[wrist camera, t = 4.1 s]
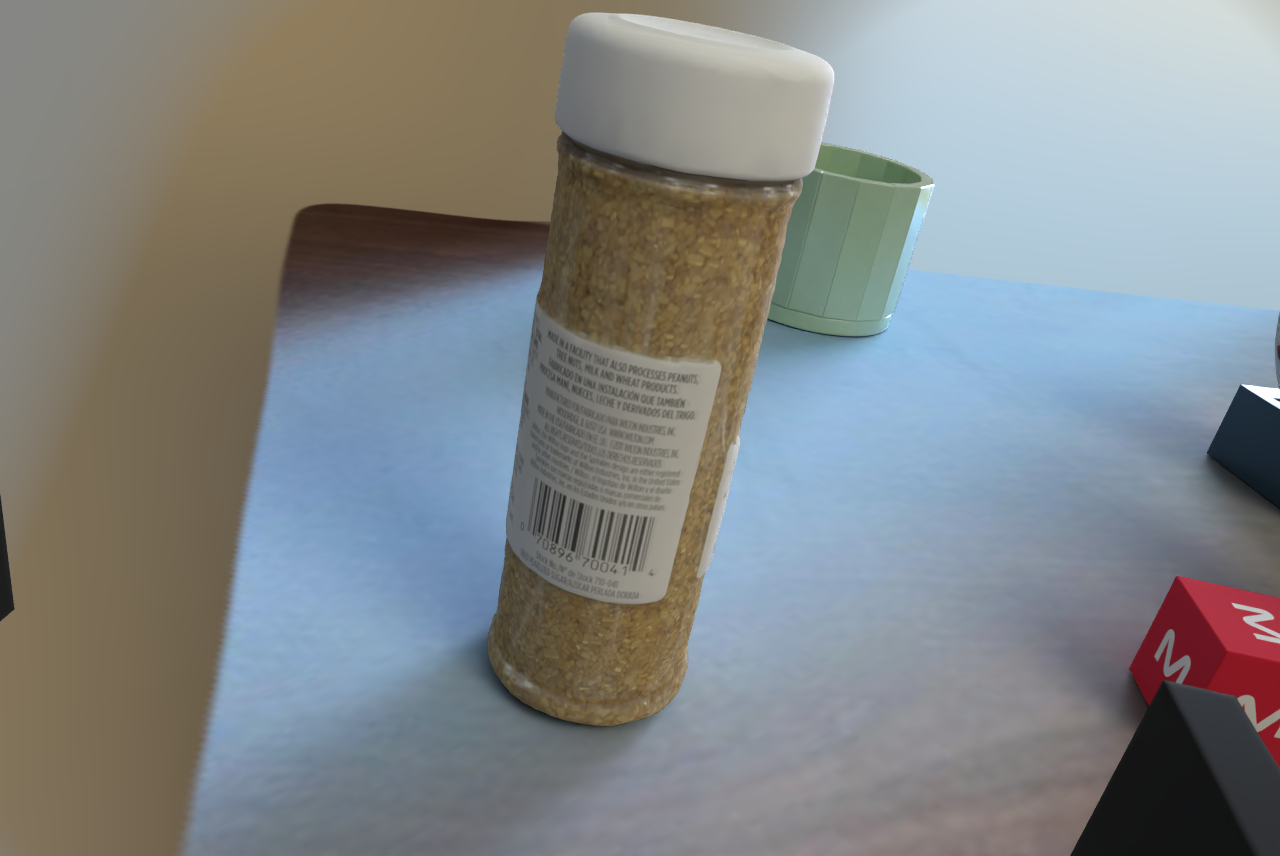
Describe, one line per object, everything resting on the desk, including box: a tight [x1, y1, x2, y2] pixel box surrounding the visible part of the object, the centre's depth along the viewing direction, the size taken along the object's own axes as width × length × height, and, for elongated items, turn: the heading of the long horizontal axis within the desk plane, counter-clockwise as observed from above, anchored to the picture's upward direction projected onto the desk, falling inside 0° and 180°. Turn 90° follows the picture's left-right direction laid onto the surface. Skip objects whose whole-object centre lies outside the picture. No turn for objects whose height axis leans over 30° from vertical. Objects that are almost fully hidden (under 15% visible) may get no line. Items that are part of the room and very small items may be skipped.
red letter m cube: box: [1129, 576, 1280, 769], centre depth 24 cm, size 3×3×3 cm
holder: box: [767, 143, 934, 336], centre depth 47 cm, size 8×8×7 cm
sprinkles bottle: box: [487, 13, 834, 726], centre depth 19 cm, size 5×5×14 cm
